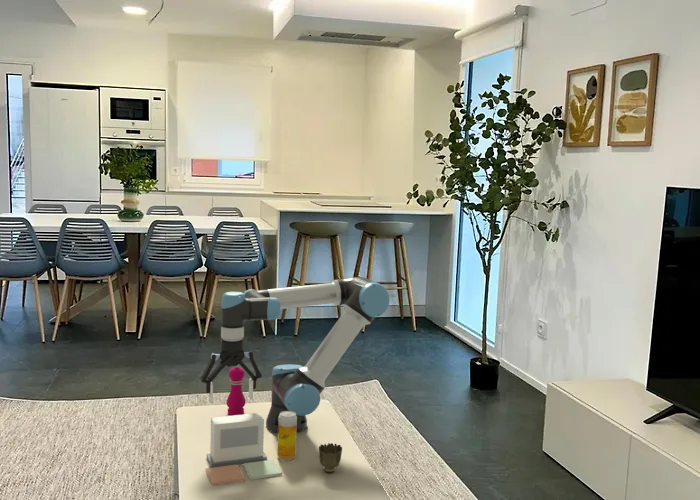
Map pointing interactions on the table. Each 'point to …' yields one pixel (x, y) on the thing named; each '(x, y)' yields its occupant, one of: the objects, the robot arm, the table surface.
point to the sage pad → (262, 469)
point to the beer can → (287, 435)
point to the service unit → (236, 440)
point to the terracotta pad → (224, 474)
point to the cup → (330, 456)
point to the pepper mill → (236, 392)
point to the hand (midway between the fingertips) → (230, 400)
